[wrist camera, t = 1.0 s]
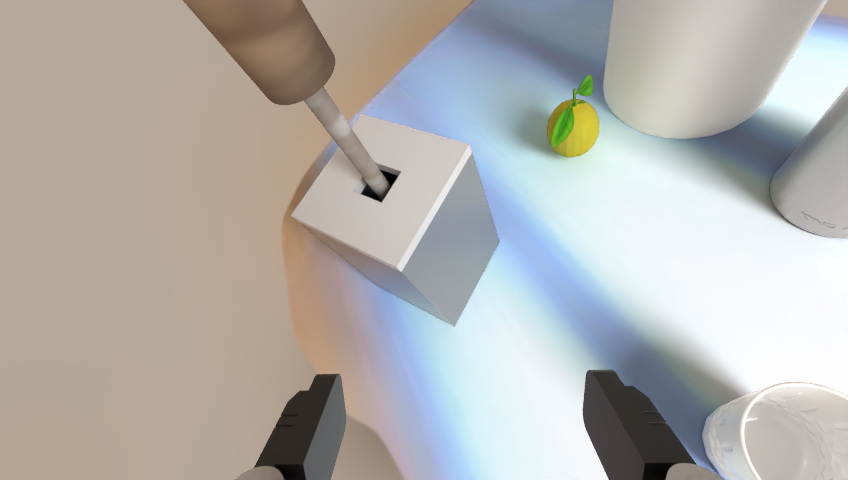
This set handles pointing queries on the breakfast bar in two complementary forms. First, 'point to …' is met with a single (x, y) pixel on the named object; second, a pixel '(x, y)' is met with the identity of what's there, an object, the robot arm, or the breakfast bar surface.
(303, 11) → the plunger
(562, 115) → the lemon
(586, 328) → the breakfast bar surface
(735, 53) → the white stepped oval block
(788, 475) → the white cup
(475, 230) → the grey upright block
